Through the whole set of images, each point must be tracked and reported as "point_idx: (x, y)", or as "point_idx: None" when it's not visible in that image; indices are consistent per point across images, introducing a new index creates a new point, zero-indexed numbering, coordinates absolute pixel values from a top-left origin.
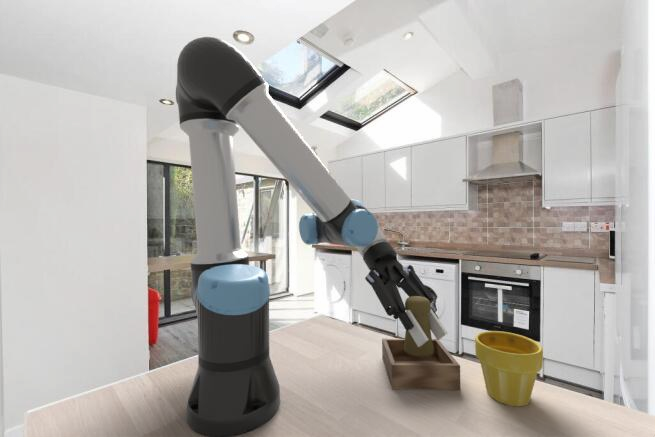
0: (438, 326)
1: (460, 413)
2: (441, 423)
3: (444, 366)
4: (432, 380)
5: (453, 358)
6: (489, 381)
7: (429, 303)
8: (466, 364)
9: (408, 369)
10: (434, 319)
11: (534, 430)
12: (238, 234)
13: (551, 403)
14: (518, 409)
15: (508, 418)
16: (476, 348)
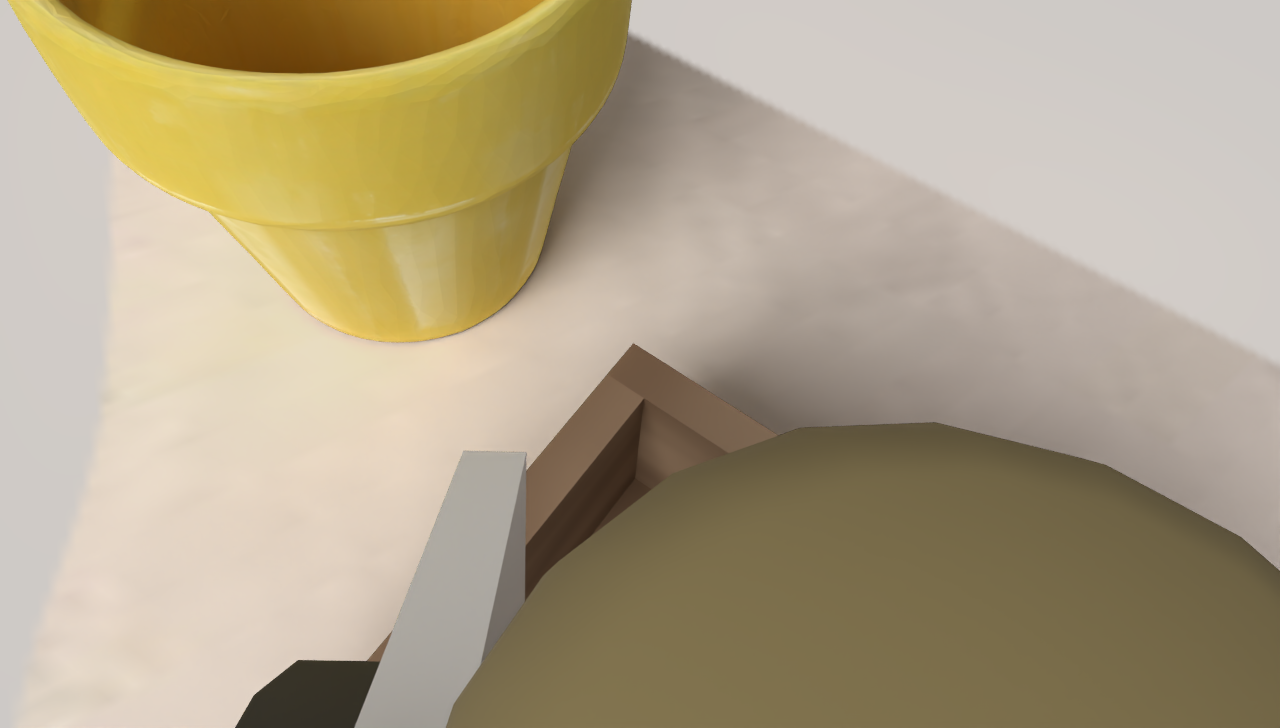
0: (512, 557)
1: (874, 302)
2: (1060, 313)
3: (766, 432)
4: None
5: (540, 465)
6: (555, 194)
7: (734, 453)
8: (100, 679)
9: None
10: (496, 622)
11: (649, 49)
12: None
13: None
14: None
15: (663, 142)
16: (549, 100)
